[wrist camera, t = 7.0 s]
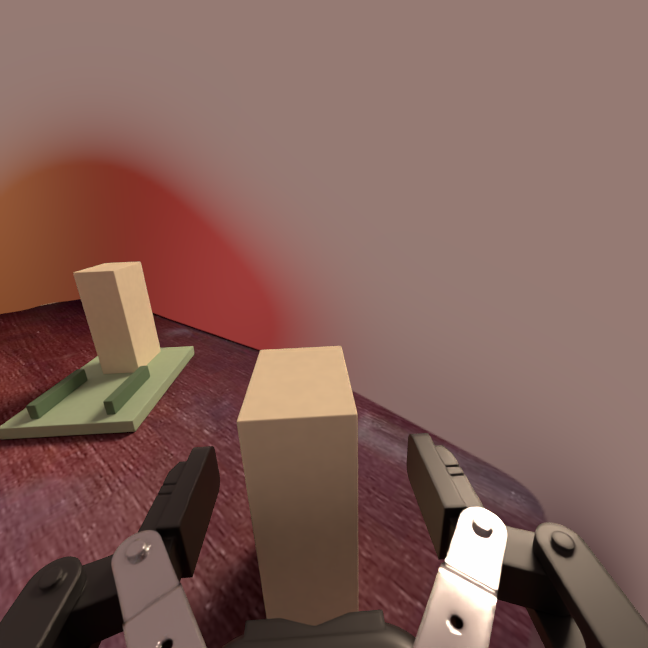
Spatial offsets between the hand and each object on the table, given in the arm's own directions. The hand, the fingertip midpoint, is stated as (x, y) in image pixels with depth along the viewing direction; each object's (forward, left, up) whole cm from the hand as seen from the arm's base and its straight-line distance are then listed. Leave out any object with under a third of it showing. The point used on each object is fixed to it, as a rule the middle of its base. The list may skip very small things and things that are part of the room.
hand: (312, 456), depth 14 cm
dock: (-1, -26, -6) cm, 26 cm away
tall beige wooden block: (0, 0, -6) cm, 6 cm away
